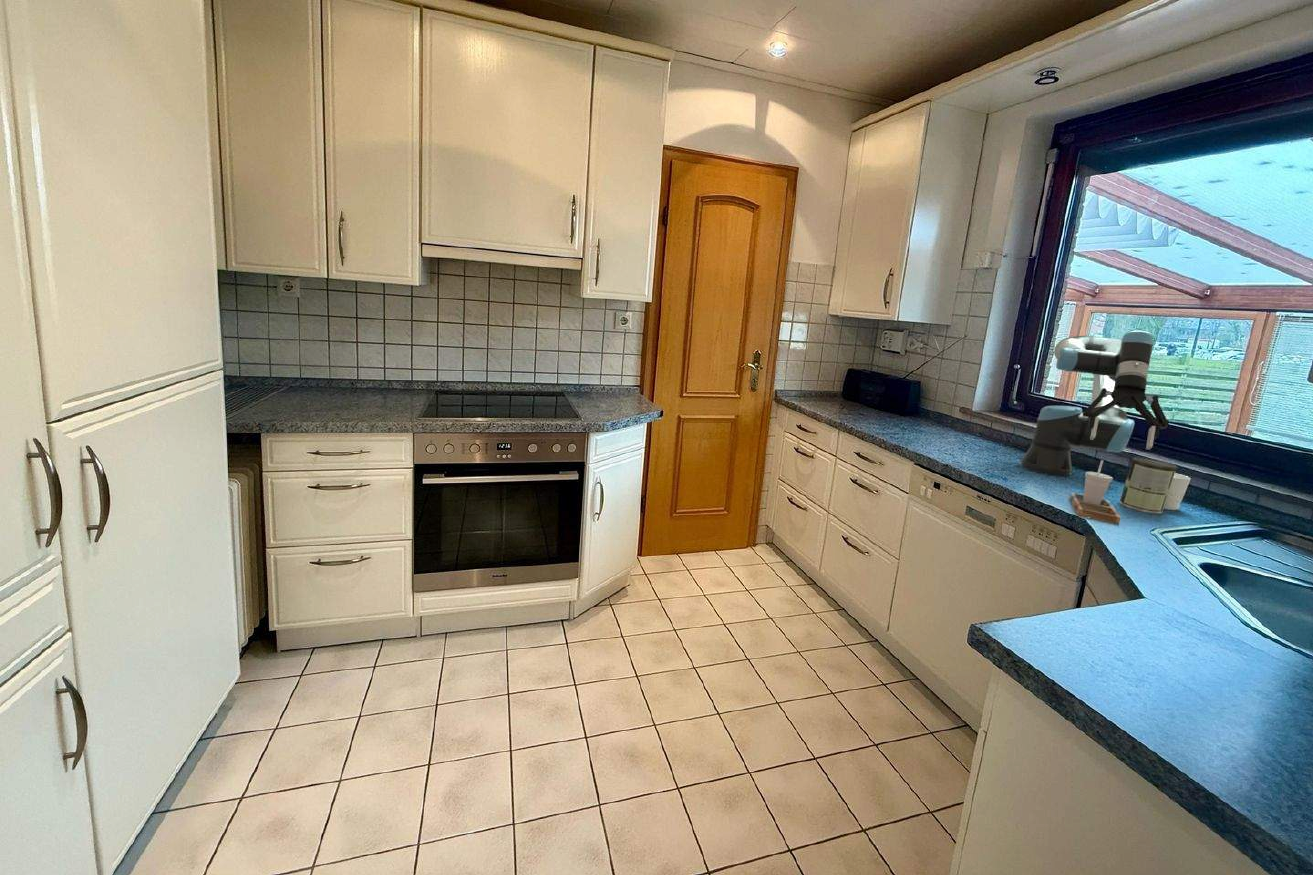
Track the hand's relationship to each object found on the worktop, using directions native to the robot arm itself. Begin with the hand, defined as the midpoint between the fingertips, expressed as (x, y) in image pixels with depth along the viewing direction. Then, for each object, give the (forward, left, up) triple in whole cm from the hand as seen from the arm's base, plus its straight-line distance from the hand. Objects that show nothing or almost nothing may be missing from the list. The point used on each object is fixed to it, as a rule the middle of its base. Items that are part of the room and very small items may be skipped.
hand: (1120, 443), depth 172 cm
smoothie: (+12, -5, -18) cm, 22 cm away
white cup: (-9, +16, -18) cm, 26 cm away
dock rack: (+16, -5, -18) cm, 25 cm away
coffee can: (-1, +9, -18) cm, 20 cm away
